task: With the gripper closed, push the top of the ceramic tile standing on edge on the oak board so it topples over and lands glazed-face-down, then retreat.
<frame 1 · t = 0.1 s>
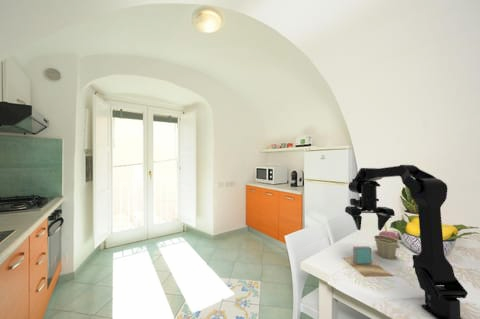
hand: (369, 230, 82), 15 cm above the table, fingers open, 9 cm apart
tile: (362, 263, 79), point 1 cm above the table, touching board
flower pot: (386, 257, 87), on the table
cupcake: (388, 245, 100), on the table
board: (365, 268, 77), on the table
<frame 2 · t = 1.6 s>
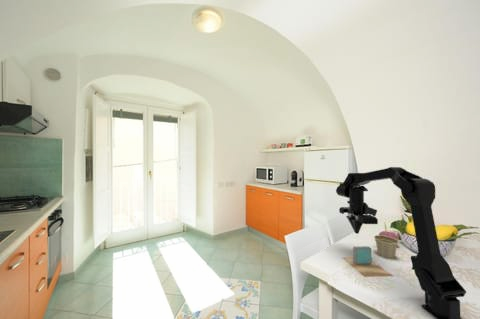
hand: (356, 233, 85), 12 cm above the table, fingers closed
nothing on the table moved.
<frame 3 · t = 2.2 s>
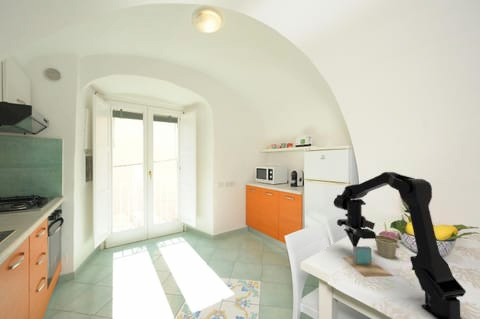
hand: (354, 246, 84), 6 cm above the table, fingers closed
nothing on the table moved.
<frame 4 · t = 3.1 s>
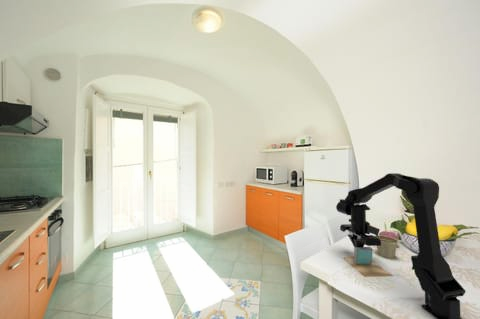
hand: (358, 253, 81), 4 cm above the table, fingers closed
tile: (362, 263, 79), point 1 cm above the table, tilted 6°, touching board
everything else where it was.
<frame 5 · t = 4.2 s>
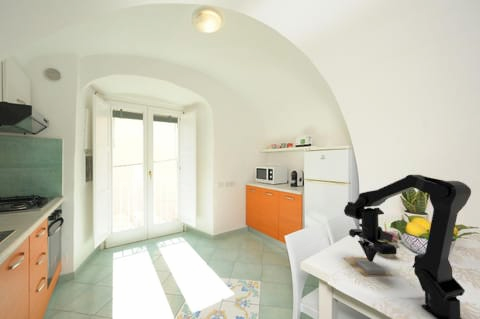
hand: (370, 261, 75), 4 cm above the table, fingers closed
tile: (363, 262, 78), point 2 cm above the table, tilted 90°, touching board
everything else where it was.
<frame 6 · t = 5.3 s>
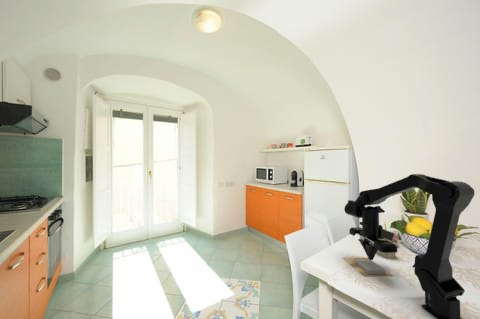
hand: (370, 259, 74), 5 cm above the table, fingers closed
nothing on the table moved.
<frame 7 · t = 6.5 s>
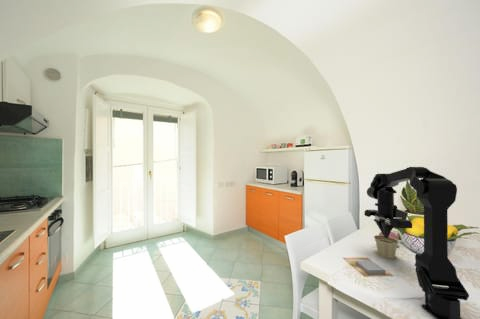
hand: (386, 237, 80), 12 cm above the table, fingers closed
nothing on the table moved.
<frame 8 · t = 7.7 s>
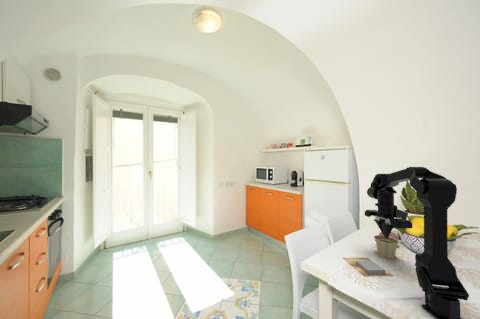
hand: (386, 237, 80), 12 cm above the table, fingers closed
nothing on the table moved.
at the end: tile tilted 90°; tile inside the target area (1.6 cm from its centre), point 1.9 cm above the table; the gripper is holding nothing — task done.
